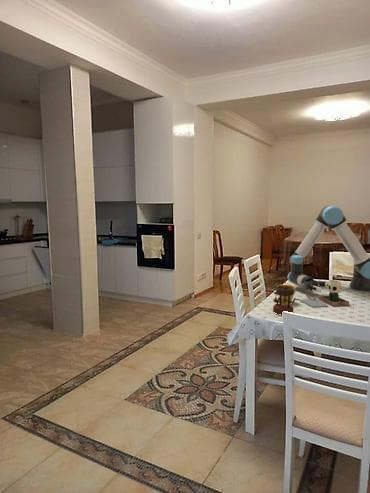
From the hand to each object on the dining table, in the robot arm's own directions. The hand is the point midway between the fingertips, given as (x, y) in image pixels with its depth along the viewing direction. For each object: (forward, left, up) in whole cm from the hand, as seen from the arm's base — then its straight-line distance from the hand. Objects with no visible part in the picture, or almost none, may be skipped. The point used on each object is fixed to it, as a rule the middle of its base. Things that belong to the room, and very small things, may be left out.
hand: (329, 289), depth 209 cm
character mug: (-1, +2, -8) cm, 8 cm away
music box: (+37, +15, -8) cm, 41 cm away
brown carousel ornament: (+27, -3, -8) cm, 28 cm away
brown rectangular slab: (-1, +2, -7) cm, 8 cm away
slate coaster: (+12, +2, -7) cm, 14 cm away
